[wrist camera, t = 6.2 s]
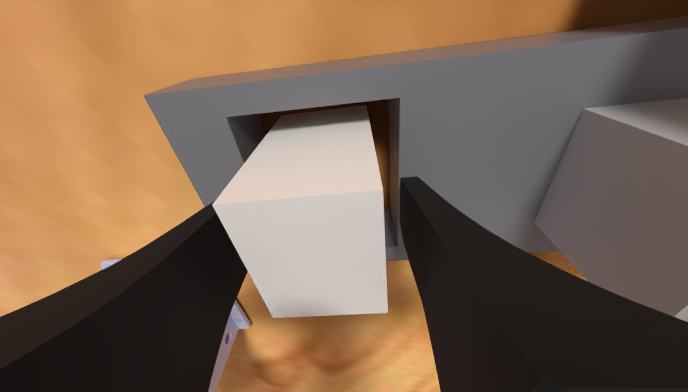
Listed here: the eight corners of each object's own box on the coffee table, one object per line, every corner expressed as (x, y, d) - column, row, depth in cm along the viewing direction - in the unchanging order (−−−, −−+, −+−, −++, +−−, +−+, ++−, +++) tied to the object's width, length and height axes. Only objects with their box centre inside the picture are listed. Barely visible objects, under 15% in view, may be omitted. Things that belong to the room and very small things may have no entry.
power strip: (629, 204, 14) (879, 365, 7) (256, 230, 16) (189, 378, 9) (767, 5, 9) (2009, -55, 2) (191, 79, 11) (-66, 166, 4)
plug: (372, 194, 14) (387, 312, 8) (304, 200, 14) (273, 318, 9) (366, 105, 11) (383, 189, 5) (281, 115, 11) (211, 204, 6)
